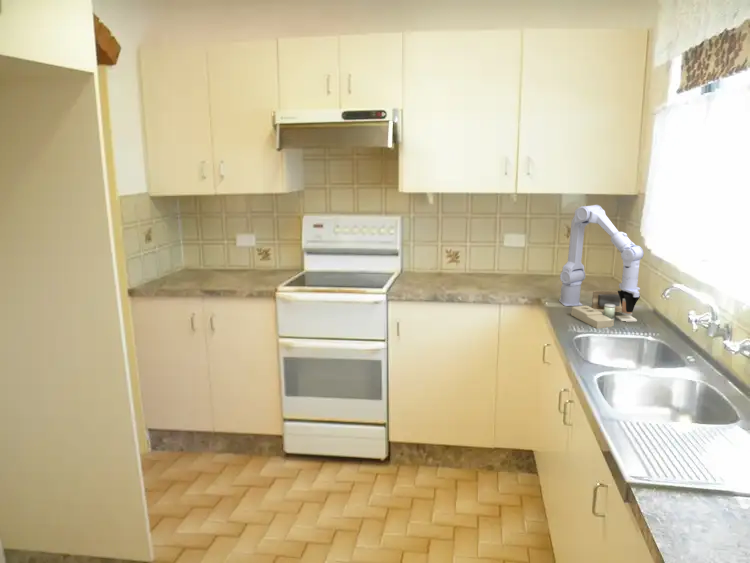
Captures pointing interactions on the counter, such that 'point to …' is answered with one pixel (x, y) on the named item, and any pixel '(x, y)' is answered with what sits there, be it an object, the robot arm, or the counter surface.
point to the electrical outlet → (592, 317)
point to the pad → (626, 318)
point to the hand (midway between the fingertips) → (627, 310)
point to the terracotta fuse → (625, 308)
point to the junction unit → (606, 300)
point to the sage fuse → (609, 310)
